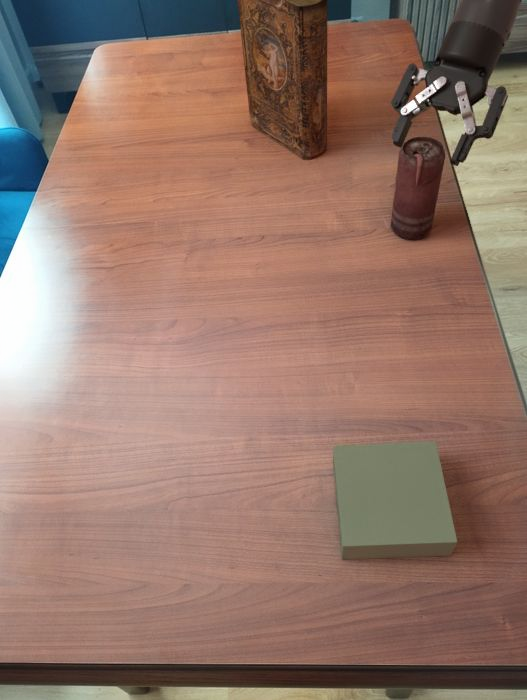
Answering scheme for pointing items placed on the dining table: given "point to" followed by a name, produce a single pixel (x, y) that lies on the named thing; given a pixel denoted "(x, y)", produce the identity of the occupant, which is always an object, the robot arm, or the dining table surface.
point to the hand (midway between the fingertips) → (424, 154)
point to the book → (287, 71)
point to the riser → (392, 501)
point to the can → (417, 187)
